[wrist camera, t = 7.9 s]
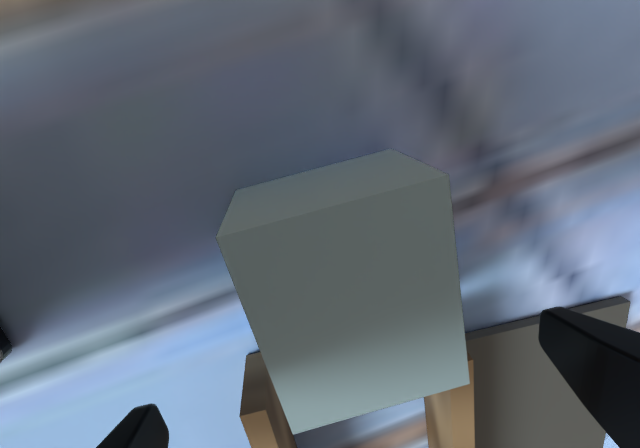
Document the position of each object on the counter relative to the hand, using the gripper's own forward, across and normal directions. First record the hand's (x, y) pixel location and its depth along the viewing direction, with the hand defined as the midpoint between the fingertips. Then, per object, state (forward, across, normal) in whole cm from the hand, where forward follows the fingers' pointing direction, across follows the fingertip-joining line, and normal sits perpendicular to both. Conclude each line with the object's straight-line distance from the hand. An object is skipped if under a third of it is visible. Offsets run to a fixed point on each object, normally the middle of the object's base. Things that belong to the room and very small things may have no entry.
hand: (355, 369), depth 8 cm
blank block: (+5, 0, -1) cm, 5 cm away
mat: (+4, -8, +8) cm, 13 cm away
